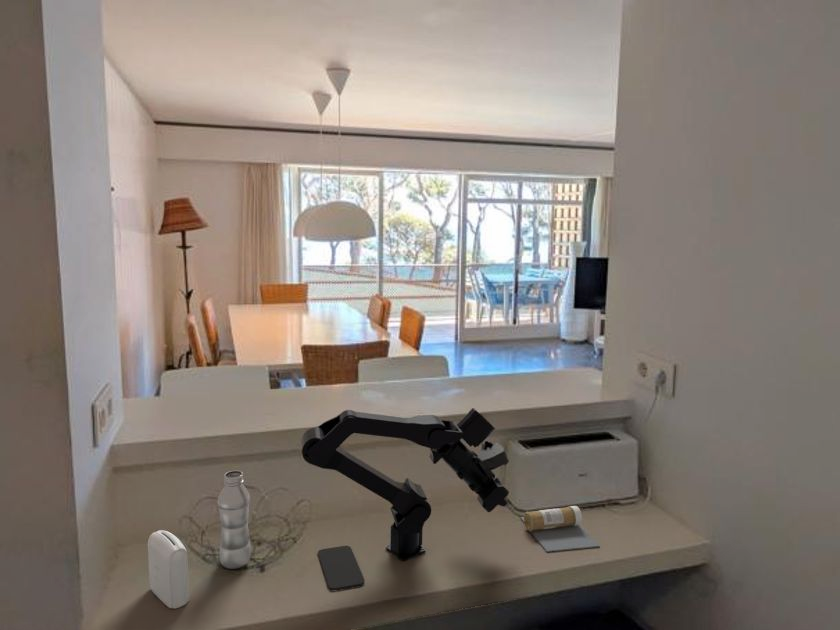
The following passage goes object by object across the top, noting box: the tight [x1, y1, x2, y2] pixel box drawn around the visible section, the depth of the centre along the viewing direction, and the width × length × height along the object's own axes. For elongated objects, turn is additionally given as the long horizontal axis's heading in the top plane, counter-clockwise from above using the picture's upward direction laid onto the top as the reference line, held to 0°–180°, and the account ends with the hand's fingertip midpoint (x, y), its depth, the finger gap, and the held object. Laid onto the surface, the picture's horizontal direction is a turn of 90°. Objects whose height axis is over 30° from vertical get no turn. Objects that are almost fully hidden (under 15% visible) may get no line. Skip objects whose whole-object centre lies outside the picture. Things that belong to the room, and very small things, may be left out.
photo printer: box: [147, 529, 190, 610], centre depth 113 cm, size 10×4×12 cm, turn 47°
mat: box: [519, 516, 600, 553], centre depth 141 cm, size 13×16×1 cm
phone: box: [317, 545, 365, 591], centre depth 124 cm, size 7×1×15 cm
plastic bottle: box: [217, 470, 252, 570], centre depth 123 cm, size 6×7×20 cm
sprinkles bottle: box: [523, 505, 583, 532], centre depth 142 cm, size 5×5×13 cm
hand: (505, 504), depth 135 cm, fingers closed
